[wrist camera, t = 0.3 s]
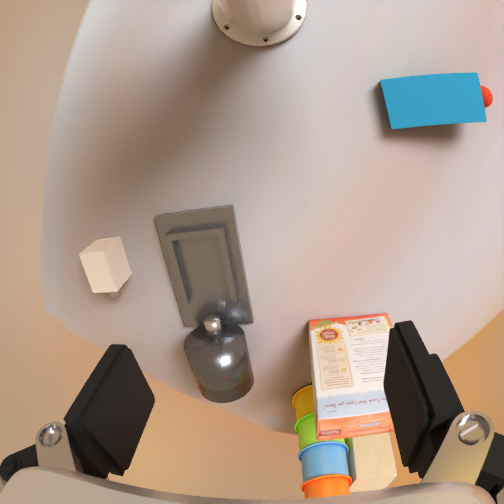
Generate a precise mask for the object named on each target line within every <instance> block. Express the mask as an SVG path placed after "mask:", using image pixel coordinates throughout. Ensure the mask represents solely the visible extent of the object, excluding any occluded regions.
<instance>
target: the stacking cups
mask: <svg viewBox="0 0 504 504" xmlns="http://www.w3.org/2000/svg"><path fill="white" fill-rule="evenodd" d="M292 405H293V407H294V409H295V410H296V420H297V422H296V424H295V431H296V433H297V434H298V435H299V446H300V452H299V454H298V459H299V460H300V461H301V462H302V475H303V484H302V485H301V489H302V491H303V492H304V493H305V498H318V497H329V496H338V495H347V494H350V487H349V485H350V484H351V482H352V479H351V477H350V476H349V472H348V465H347V458H346V454H347V453H348V446H347V445H346V444H345V440H344V439H335V440H323V441H316V430H315V416H314V403H313V389H312V385H309V386H306V387H304V388H302V389H300V390H299V391H297V392H296V393H295V395H294V396H293V398H292Z"/></svg>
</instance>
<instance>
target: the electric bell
mask: <svg viewBox="0 0 504 504" xmlns="http://www.w3.org/2000/svg"><path fill="white" fill-rule="evenodd" d="M154 218H155V222H156V226H157V230H158V234H159V238H160V242H161V245H162V249H163V253H164V257H165V260H166V264H167V267H168V271H169V274H170V278H171V281H172V285H173V288H174V292H175V295H176V298H177V302H178V305H179V308H180V311H181V315H182V318H183V321H184V324H185V327H187V326H200V327H198V328H197V329H195V330H193V331H192V332H191V333H190V334H189V335H188V336H187V338H186V339H185V342H184V350H185V353H186V355H187V358H188V361H189V364H190V366H191V369H192V372H193V374H194V377H195V380H196V382H197V385H198V388H199V390H200V392H201V394H202V395H203V396H204V397H205V398H206V399H208V400H210V401H213V402H217V403H227V402H232V401H235V400H238V399H240V398H242V397H243V396H245V395H246V394H247V393H248V392H249V391H250V390H251V388H252V386H253V383H254V376H253V371H252V367H251V362H250V357H249V353H248V348H247V343H246V339H245V334H244V331H243V330H242V328H241V327H239V326H238V325H236V324H248V323H253V321H254V319H253V313H252V308H251V302H250V297H249V291H248V286H247V280H246V275H245V269H244V263H243V258H242V252H241V246H240V241H239V235H238V229H237V224H236V218H235V212H234V206H233V205H225V206H218V207H210V208H203V209H196V210H189V211H182V212H176V213H169V214H162V215H157V216H155V217H154Z"/></svg>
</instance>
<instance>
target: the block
mask: <svg viewBox="0 0 504 504" xmlns="http://www.w3.org/2000/svg"><path fill="white" fill-rule="evenodd" d="M79 256H80V259H81V262H82V265H83V268H84V270H85V273H86V276H87V278H88V281H89V284H90V286H91V289H92V292H93V293H103V292H108V293H109V296H110V298H116V297H118V296H120V294H121V293H120V290H119V289H120V288H121V287H122V285H123V284H124V283H125V282H126V281H127V279H128V278H129V277H130V276H131V275H132V273H131V270H130V266H129V263H128V260H127V257H126V254H125V250H124V247H123V244H122V240H121V237H120V236H119V237H112V238H105V239H99V240H96V241H95V242H93V243H92V244H91V245H90V246H88V247H87V248H86V249H85V250H83V251H82V252H81V253H80V254H79Z"/></svg>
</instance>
